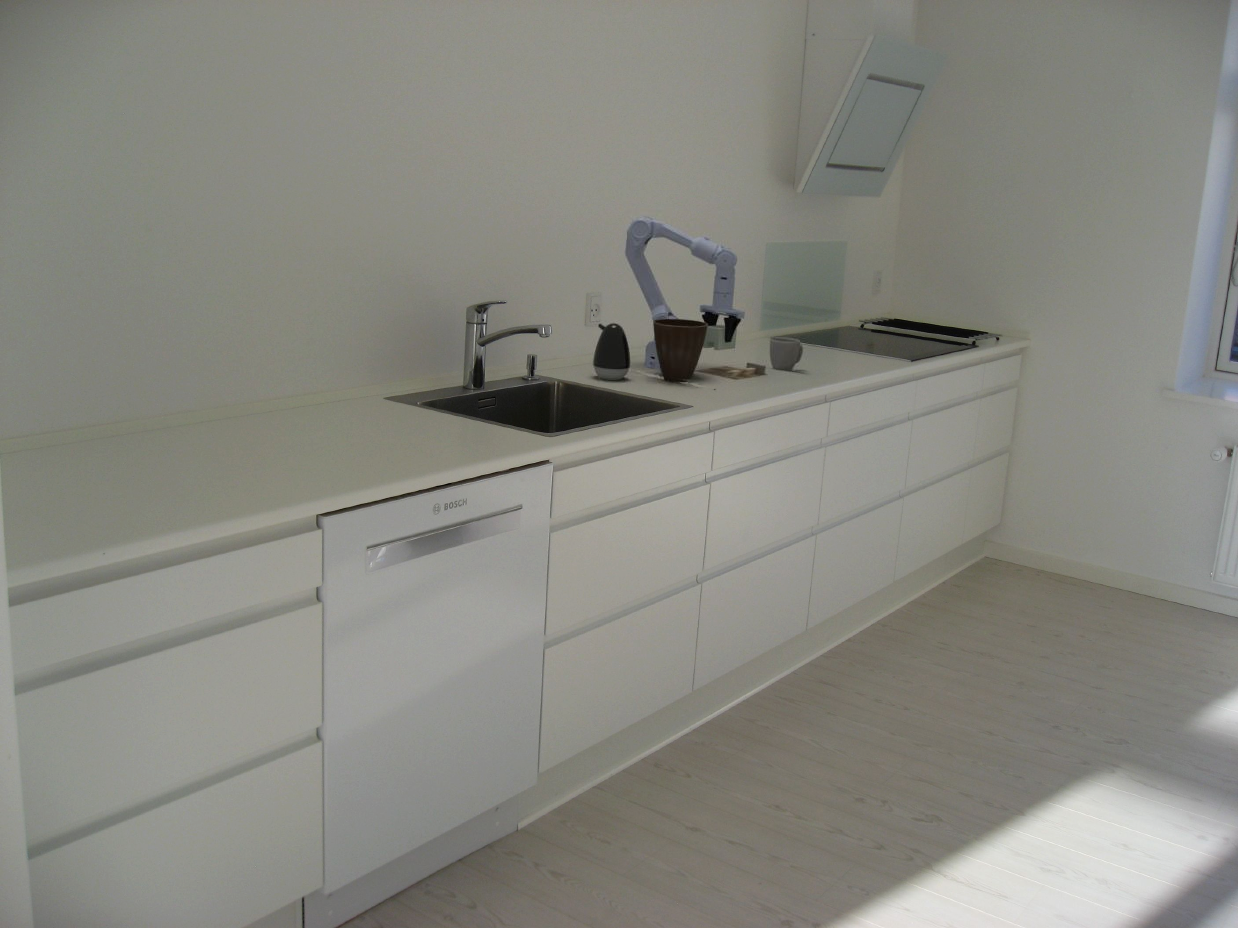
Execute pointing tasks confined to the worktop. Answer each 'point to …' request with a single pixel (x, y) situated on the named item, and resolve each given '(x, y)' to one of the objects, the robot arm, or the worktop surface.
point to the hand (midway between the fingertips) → (719, 340)
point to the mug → (785, 353)
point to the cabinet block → (718, 338)
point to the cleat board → (722, 372)
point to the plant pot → (678, 346)
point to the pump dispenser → (612, 353)
